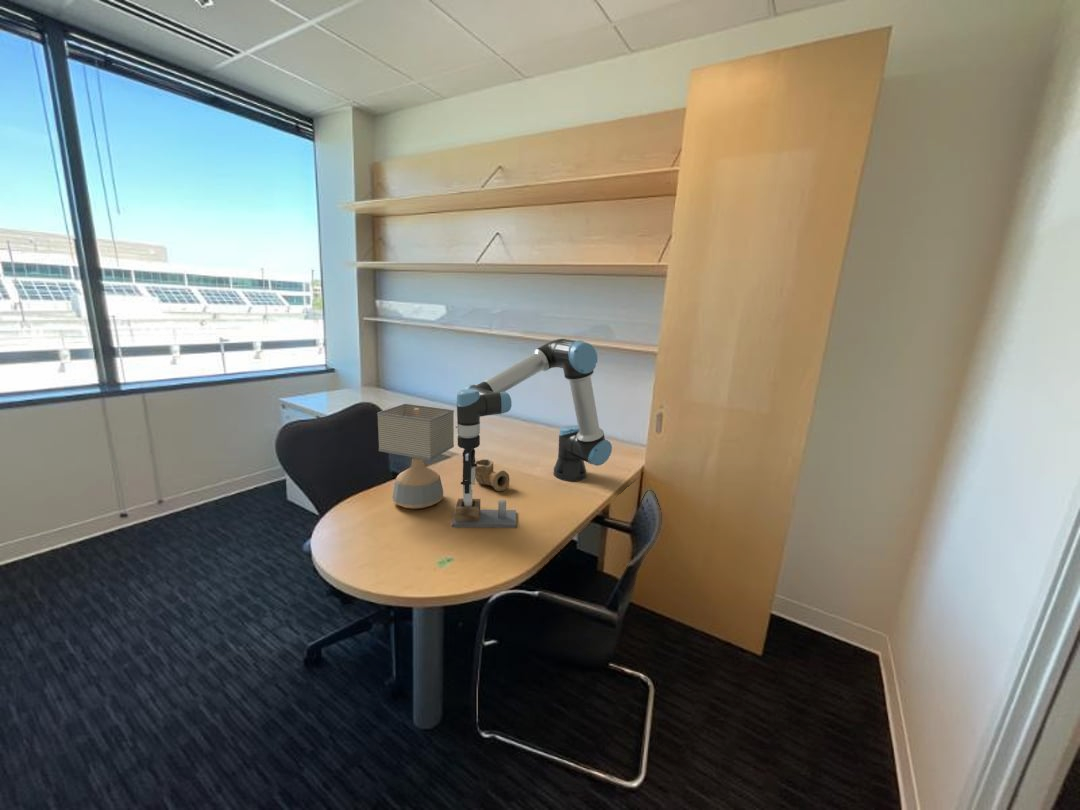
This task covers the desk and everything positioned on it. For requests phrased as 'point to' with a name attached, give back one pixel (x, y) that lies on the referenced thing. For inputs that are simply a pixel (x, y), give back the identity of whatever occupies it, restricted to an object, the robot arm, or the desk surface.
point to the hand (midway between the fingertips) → (469, 492)
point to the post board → (491, 517)
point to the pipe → (491, 475)
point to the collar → (467, 511)
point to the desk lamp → (416, 449)
